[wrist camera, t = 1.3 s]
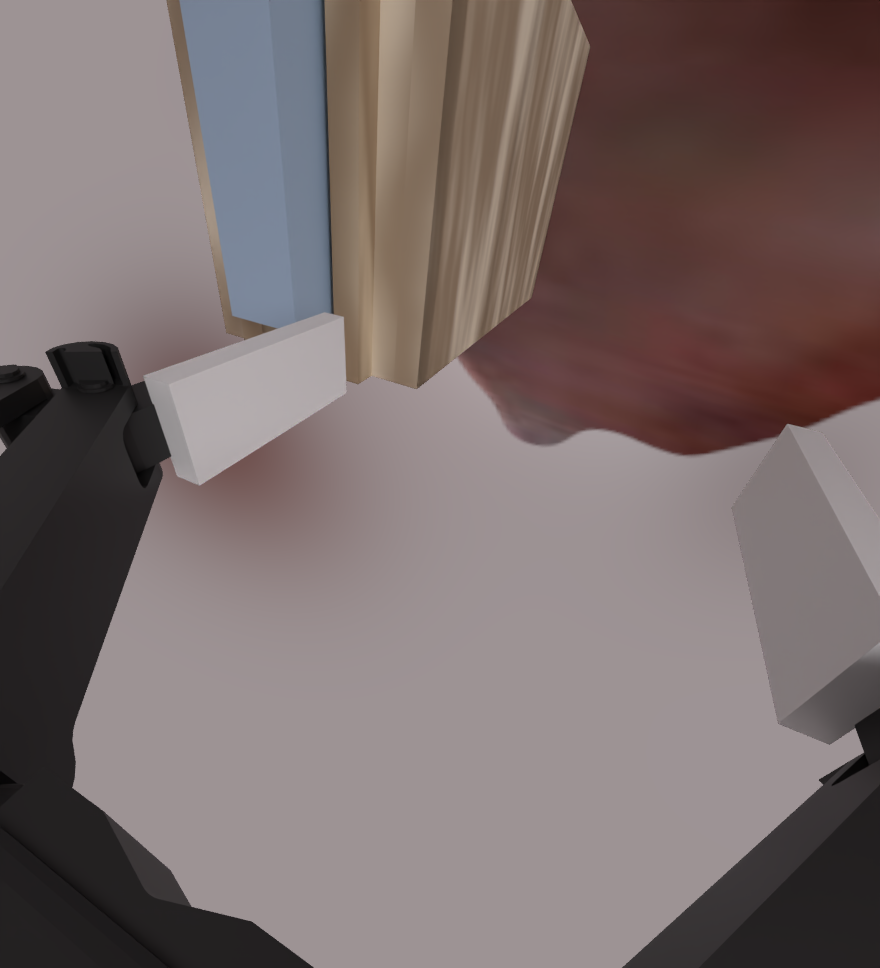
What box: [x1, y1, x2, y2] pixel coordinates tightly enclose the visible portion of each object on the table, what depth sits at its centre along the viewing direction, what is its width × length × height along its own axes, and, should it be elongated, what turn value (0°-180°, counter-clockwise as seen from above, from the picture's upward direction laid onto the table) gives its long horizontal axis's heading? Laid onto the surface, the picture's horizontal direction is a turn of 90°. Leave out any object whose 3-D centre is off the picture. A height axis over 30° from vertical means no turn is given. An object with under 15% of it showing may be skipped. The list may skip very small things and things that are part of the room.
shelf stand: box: [167, 0, 590, 389], centre depth 31 cm, size 14×20×32 cm
